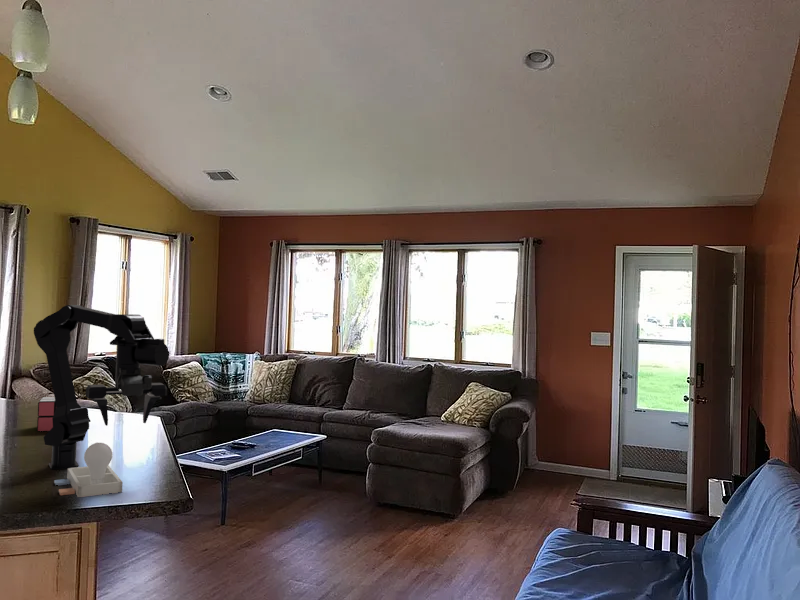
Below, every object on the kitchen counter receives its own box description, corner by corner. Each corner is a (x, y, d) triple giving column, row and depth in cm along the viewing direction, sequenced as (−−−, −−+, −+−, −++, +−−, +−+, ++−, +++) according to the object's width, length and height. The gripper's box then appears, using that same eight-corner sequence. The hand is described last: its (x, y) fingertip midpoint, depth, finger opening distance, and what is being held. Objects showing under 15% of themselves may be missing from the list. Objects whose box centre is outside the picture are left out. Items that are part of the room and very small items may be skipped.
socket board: (52, 479, 163) (53, 469, 163) (107, 473, 170) (108, 464, 170) (62, 499, 148) (62, 488, 148) (122, 492, 155) (122, 482, 155)
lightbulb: (116, 487, 159) (118, 441, 159) (98, 494, 153) (100, 446, 153) (95, 484, 160) (97, 439, 160) (76, 491, 155) (78, 444, 155)
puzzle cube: (70, 431, 220) (72, 401, 220) (36, 432, 217) (38, 401, 217) (73, 425, 230) (74, 396, 230) (40, 426, 226) (42, 397, 226)
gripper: (94, 367, 158) (91, 432, 158) (173, 365, 169) (171, 427, 169) (86, 362, 168) (83, 424, 168) (162, 361, 178) (160, 419, 178)
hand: (125, 424), depth 170 cm, fingers open, 9 cm apart
